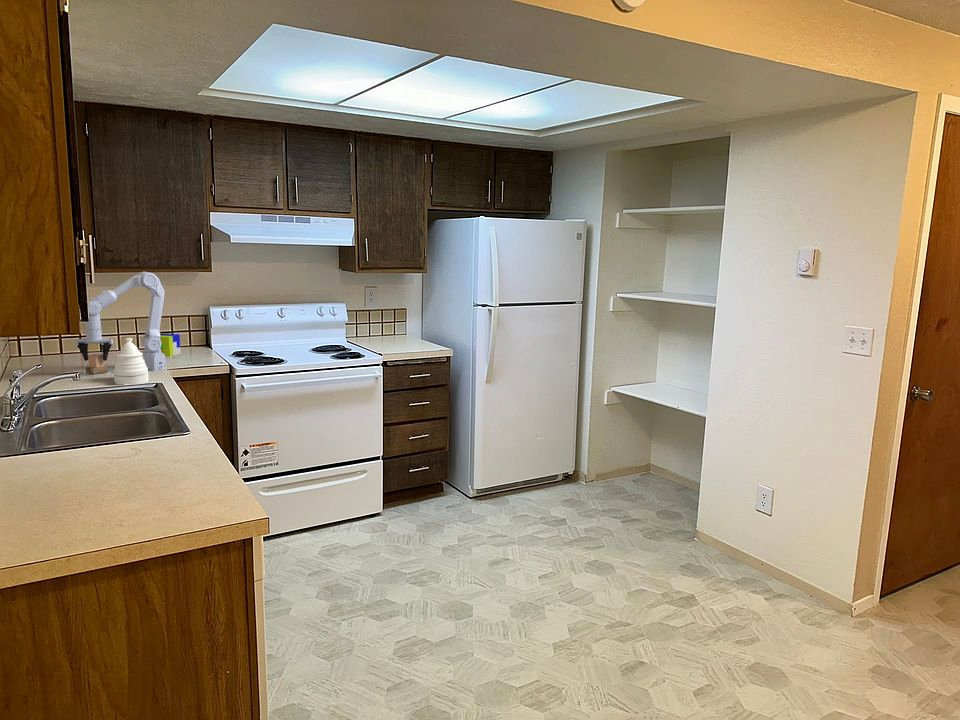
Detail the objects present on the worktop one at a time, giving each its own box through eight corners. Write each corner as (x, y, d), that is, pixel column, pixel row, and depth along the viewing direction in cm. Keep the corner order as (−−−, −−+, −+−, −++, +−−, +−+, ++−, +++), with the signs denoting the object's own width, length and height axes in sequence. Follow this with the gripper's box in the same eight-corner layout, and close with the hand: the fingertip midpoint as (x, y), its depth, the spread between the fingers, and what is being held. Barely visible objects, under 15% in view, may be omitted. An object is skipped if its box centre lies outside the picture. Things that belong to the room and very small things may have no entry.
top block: (103, 366, 292) (103, 354, 291) (96, 367, 288) (95, 356, 287) (96, 365, 292) (95, 354, 292) (88, 367, 289) (87, 355, 288)
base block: (107, 373, 292) (107, 366, 291) (93, 375, 287) (93, 368, 286) (99, 371, 295) (99, 364, 294) (85, 373, 290) (85, 366, 289)
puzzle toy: (180, 353, 349) (179, 334, 347) (169, 356, 339) (168, 337, 337) (162, 352, 350) (161, 333, 348) (151, 355, 340) (149, 336, 338)
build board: (132, 372, 299) (132, 369, 299) (91, 379, 284) (91, 376, 284) (116, 369, 305) (116, 366, 305) (76, 375, 290) (76, 372, 290)
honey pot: (115, 379, 284) (112, 337, 281) (149, 377, 290) (146, 336, 286) (113, 385, 273) (109, 342, 270) (148, 383, 278) (145, 340, 275)
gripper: (115, 327, 292) (117, 358, 294) (79, 327, 290) (81, 358, 292) (108, 330, 285) (111, 361, 288) (71, 329, 283) (74, 361, 286)
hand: (95, 360), depth 290 cm, fingers open, 7 cm apart
